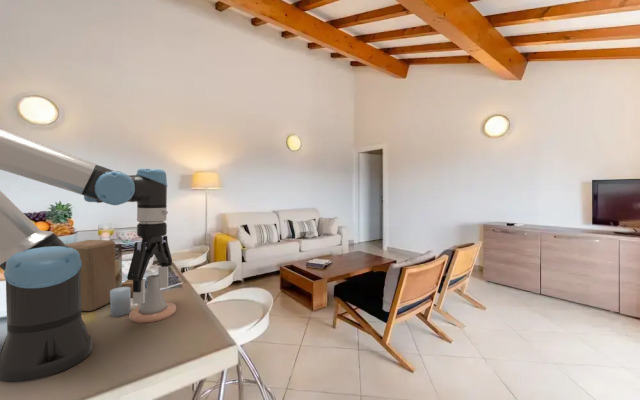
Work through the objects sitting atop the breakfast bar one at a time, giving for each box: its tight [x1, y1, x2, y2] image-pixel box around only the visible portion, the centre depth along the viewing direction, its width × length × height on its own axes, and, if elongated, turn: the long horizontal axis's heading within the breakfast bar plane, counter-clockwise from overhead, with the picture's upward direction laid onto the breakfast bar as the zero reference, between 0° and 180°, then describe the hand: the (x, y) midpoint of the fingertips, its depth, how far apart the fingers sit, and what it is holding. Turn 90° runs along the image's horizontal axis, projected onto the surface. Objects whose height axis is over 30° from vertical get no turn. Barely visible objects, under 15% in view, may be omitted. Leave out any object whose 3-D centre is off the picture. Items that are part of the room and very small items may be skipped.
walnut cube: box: [121, 279, 133, 299], centre depth 104 cm, size 5×5×5 cm
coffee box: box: [115, 243, 123, 288], centre depth 109 cm, size 9×6×16 cm
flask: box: [138, 274, 168, 314], centre depth 88 cm, size 7×7×10 cm
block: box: [64, 239, 116, 312], centre depth 94 cm, size 10×10×20 cm
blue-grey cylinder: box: [109, 286, 132, 317], centre depth 89 cm, size 5×5×7 cm
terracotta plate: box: [128, 301, 177, 324], centre depth 88 cm, size 12×12×1 cm
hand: (152, 294), depth 88 cm, fingers open, 13 cm apart
